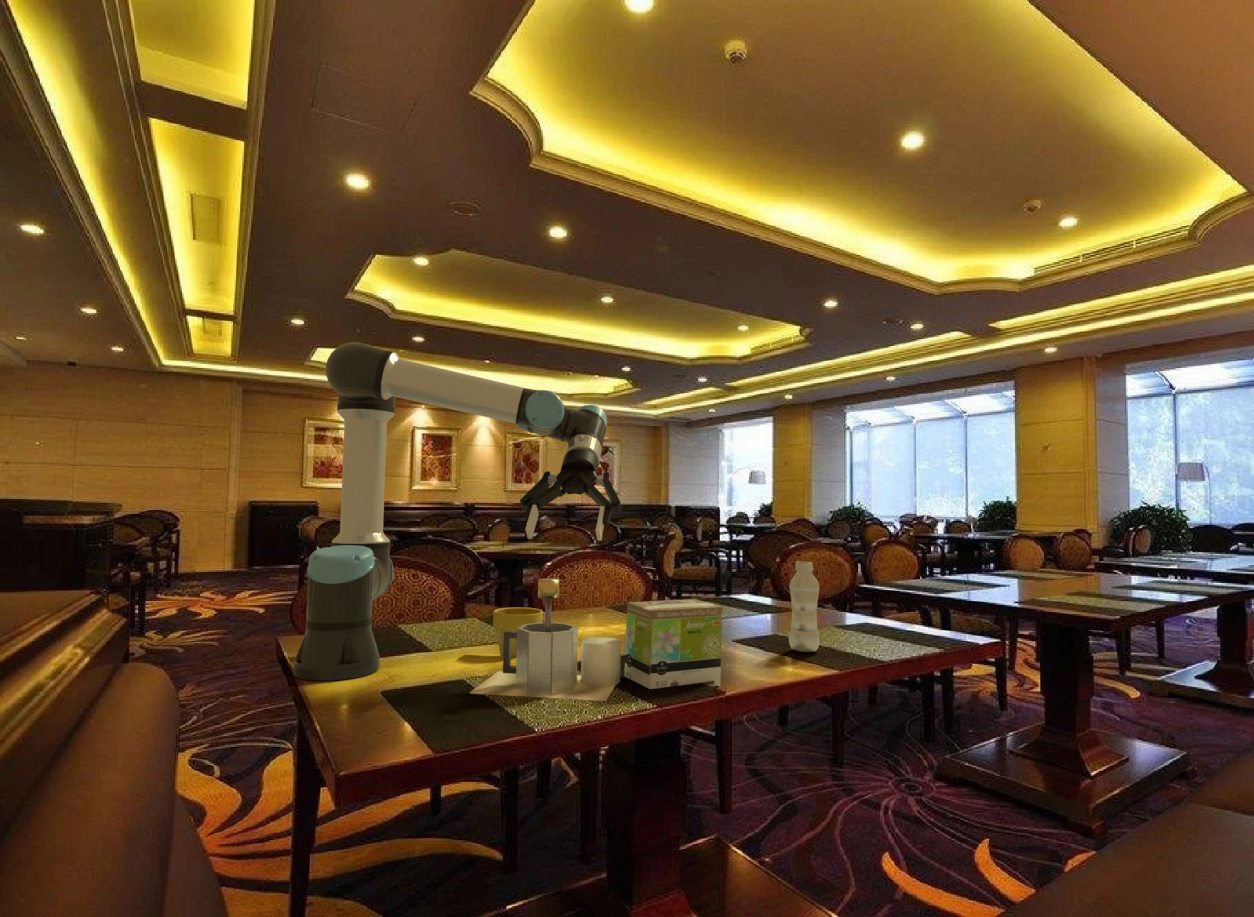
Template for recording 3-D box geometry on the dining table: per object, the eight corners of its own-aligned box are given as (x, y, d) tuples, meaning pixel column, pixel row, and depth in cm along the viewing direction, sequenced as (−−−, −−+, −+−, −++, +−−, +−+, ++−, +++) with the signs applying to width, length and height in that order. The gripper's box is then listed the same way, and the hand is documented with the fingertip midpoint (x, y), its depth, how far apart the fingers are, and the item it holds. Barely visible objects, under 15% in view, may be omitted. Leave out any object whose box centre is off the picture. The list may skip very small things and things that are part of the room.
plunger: (521, 670, 115) (523, 581, 116) (533, 661, 122) (534, 576, 123) (562, 672, 114) (563, 582, 115) (571, 662, 121) (572, 578, 122)
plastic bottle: (795, 647, 158) (795, 560, 159) (824, 651, 154) (823, 562, 155) (784, 652, 153) (784, 562, 154) (813, 656, 149) (813, 564, 150)
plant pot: (546, 652, 149) (547, 607, 149) (535, 664, 138) (536, 615, 139) (500, 651, 150) (501, 606, 150) (485, 662, 140) (487, 613, 140)
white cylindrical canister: (576, 685, 118) (577, 644, 119) (585, 675, 125) (585, 636, 126) (616, 687, 117) (617, 646, 118) (622, 677, 124) (623, 638, 125)
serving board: (468, 700, 113) (468, 693, 113) (498, 677, 128) (498, 670, 128) (605, 708, 110) (605, 700, 110) (620, 683, 124) (620, 677, 124)
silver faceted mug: (494, 691, 114) (495, 631, 115) (512, 676, 124) (513, 620, 124) (567, 695, 112) (569, 634, 113) (580, 680, 122) (581, 623, 122)
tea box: (650, 697, 117) (651, 609, 117) (623, 682, 125) (624, 601, 126) (722, 687, 123) (723, 604, 124) (692, 674, 132) (693, 597, 133)
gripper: (521, 446, 145) (495, 519, 129) (638, 447, 141) (626, 522, 125) (528, 472, 150) (504, 546, 134) (641, 473, 146) (629, 549, 130)
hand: (563, 535), depth 130 cm, fingers open, 13 cm apart
